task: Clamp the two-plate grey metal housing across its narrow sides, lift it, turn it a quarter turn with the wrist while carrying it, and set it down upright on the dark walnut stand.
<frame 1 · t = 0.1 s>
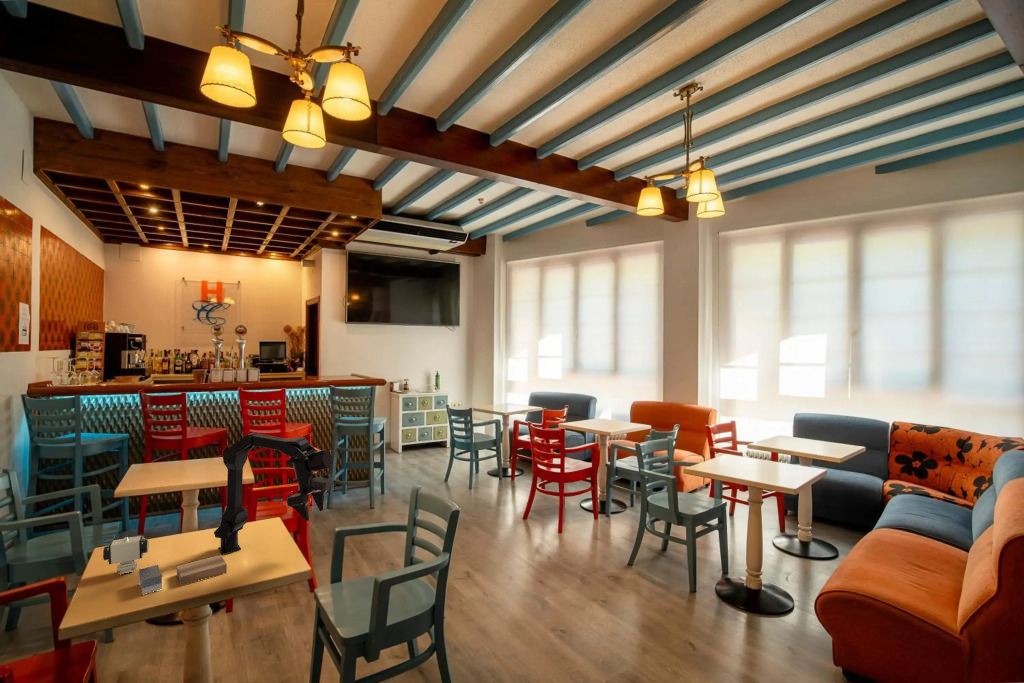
hand: (314, 515, 180), 15 cm above the table, tool pointing down, fingers open, 9 cm apart
walnut stand: (201, 574, 168), on the table
housing: (150, 587, 160), on the table
pneumatic valve: (127, 572, 170), on the table
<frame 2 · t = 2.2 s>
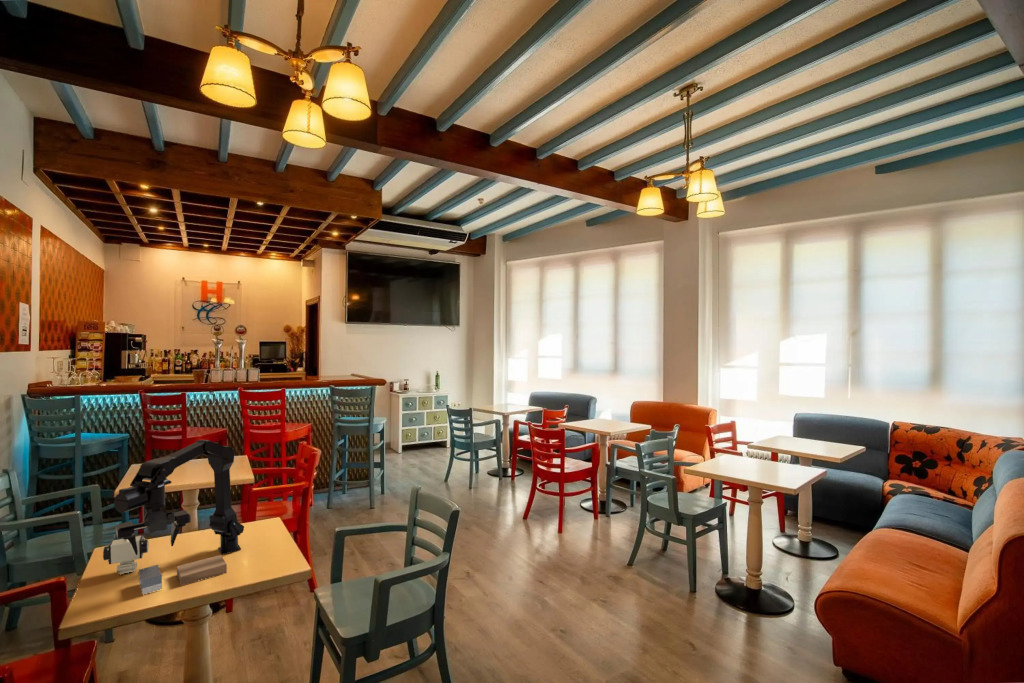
hand: (154, 550, 158), 13 cm above the table, tool pointing down, fingers open, 9 cm apart
nothing on the table moved.
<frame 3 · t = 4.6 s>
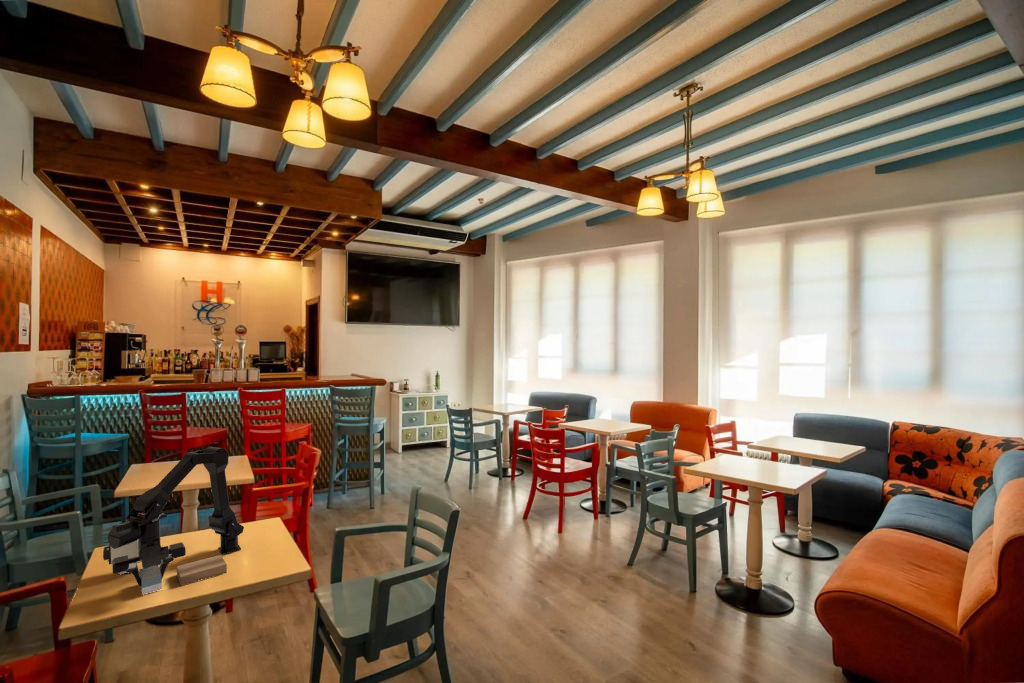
hand: (150, 583, 160), 1 cm above the table, tool pointing down, fingers closed on housing, 5 cm apart
housing: (150, 587, 160), on the table, touching gripper
everything else where it was.
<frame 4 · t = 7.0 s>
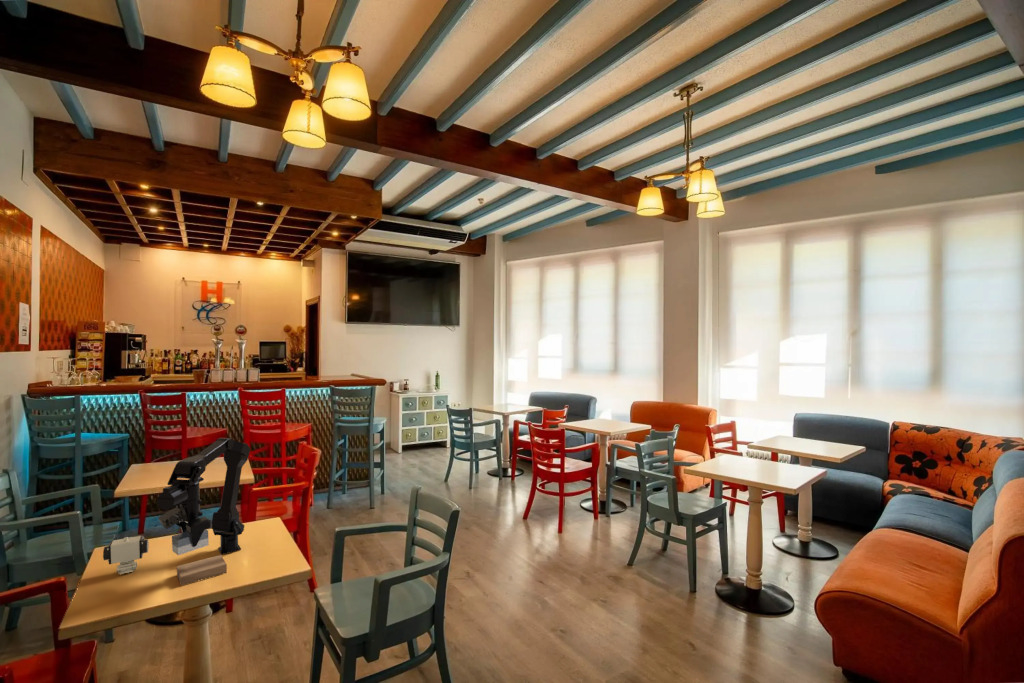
hand: (191, 544, 166), 11 cm above the table, tool pointing down, fingers closed on housing, 5 cm apart
housing: (190, 548, 166), point 10 cm above the table, touching gripper
everything else where it was.
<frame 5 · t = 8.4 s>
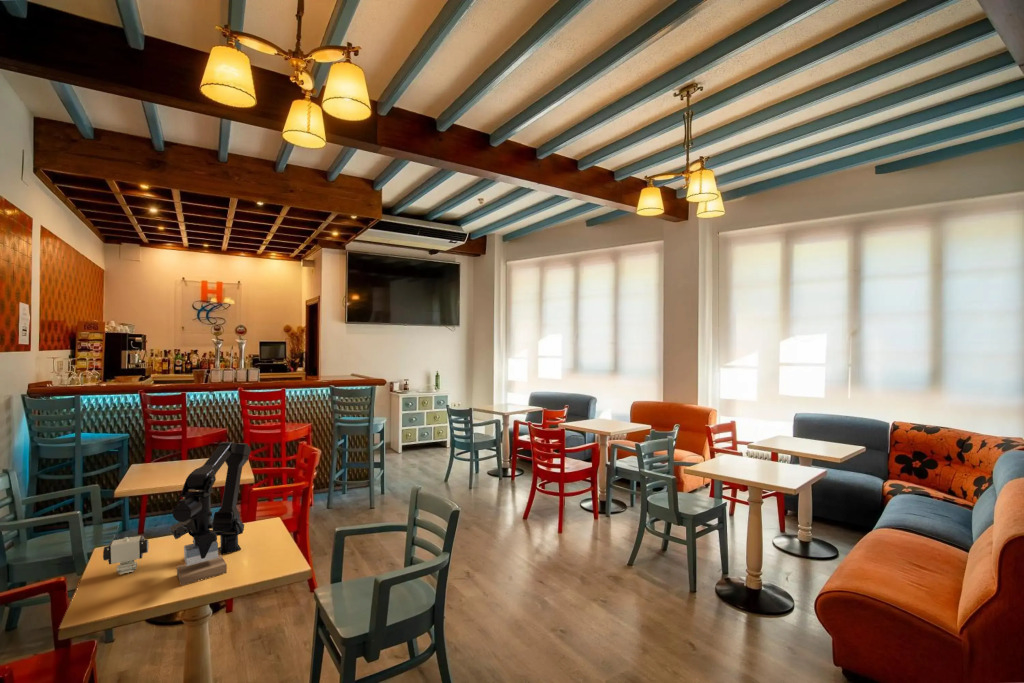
hand: (201, 555, 168), 6 cm above the table, tool pointing down, fingers closed on housing, 5 cm apart
housing: (201, 559, 168), point 5 cm above the table, touching gripper
everything else where it was.
when the fingers open (6 cm above the table, at t = 9.4 s): housing drops 1 cm, resting on walnut stand.
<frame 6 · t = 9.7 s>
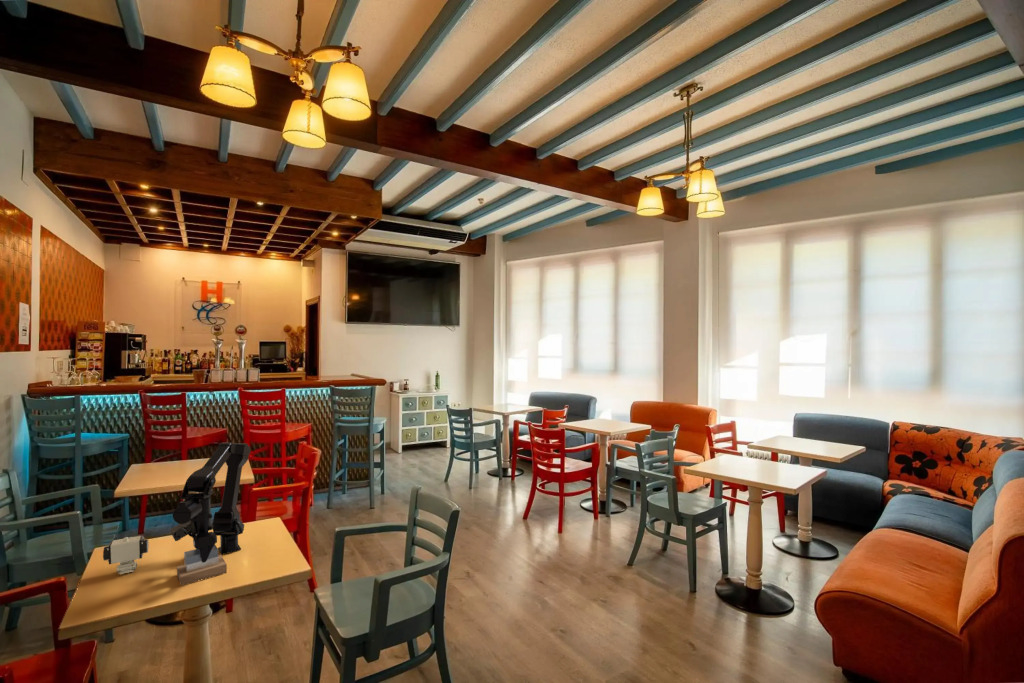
hand: (201, 557, 168), 6 cm above the table, tool pointing down, fingers open, 8 cm apart
housing: (201, 565, 168), point 3 cm above the table, touching walnut stand
everything else where it was.
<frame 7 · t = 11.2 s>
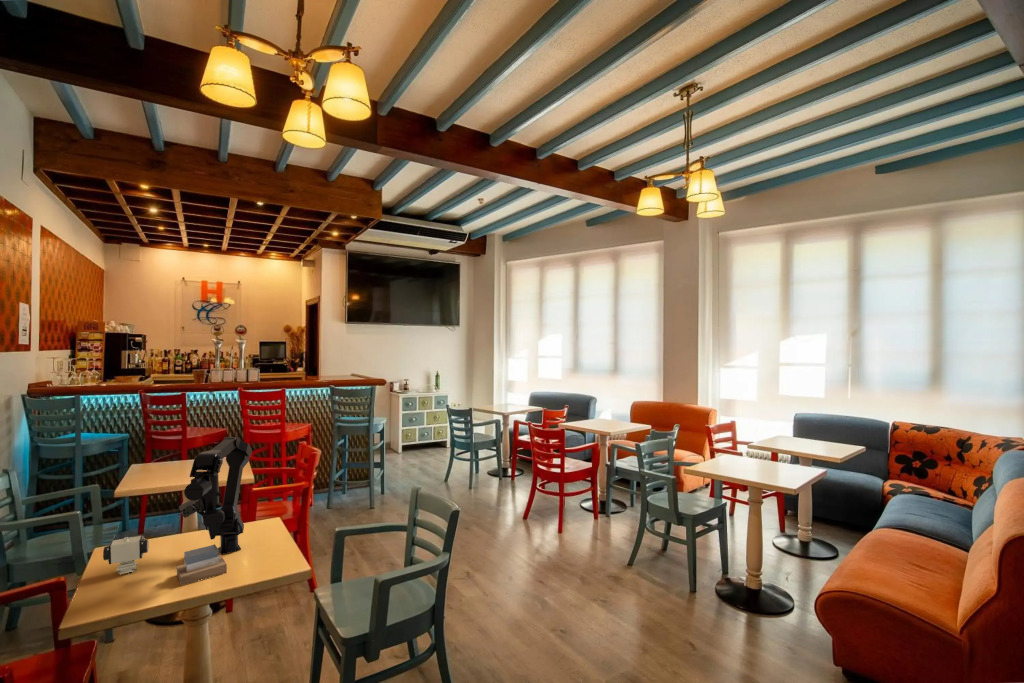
hand: (210, 534, 171), 12 cm above the table, tool pointing down, fingers open, 9 cm apart
nothing on the table moved.
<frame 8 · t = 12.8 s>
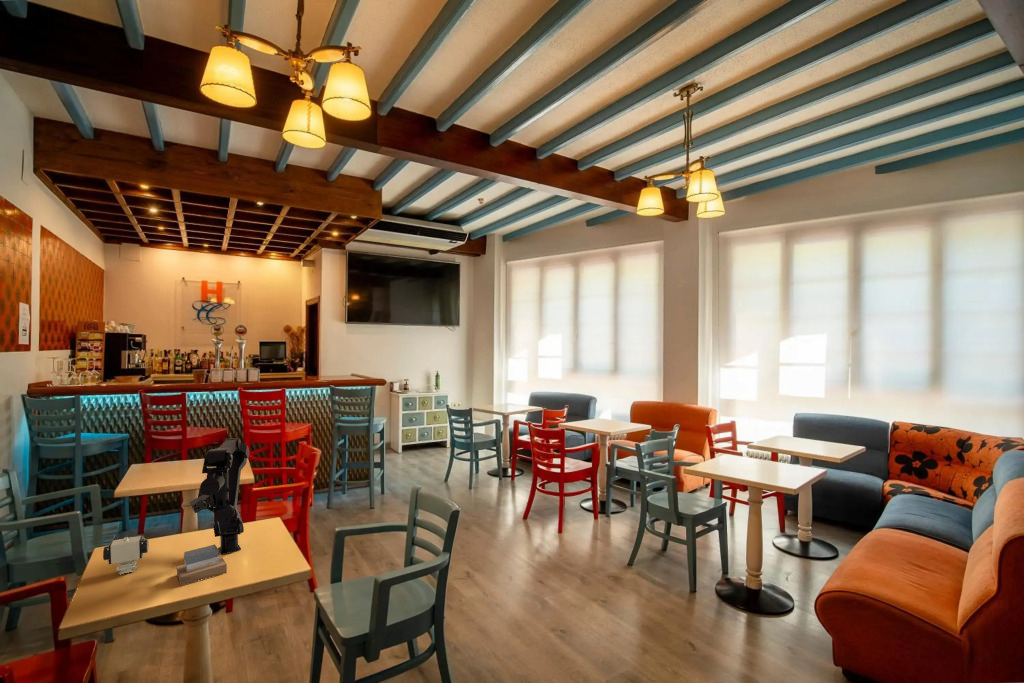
hand: (219, 529, 174), 13 cm above the table, tool pointing down, fingers open, 9 cm apart
nothing on the table moved.
at the end: housing 0.1 cm off-centre on the walnut stand, point 3.0 cm above the walnut stand's base; housing tilted 0°; the gripper is holding nothing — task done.
